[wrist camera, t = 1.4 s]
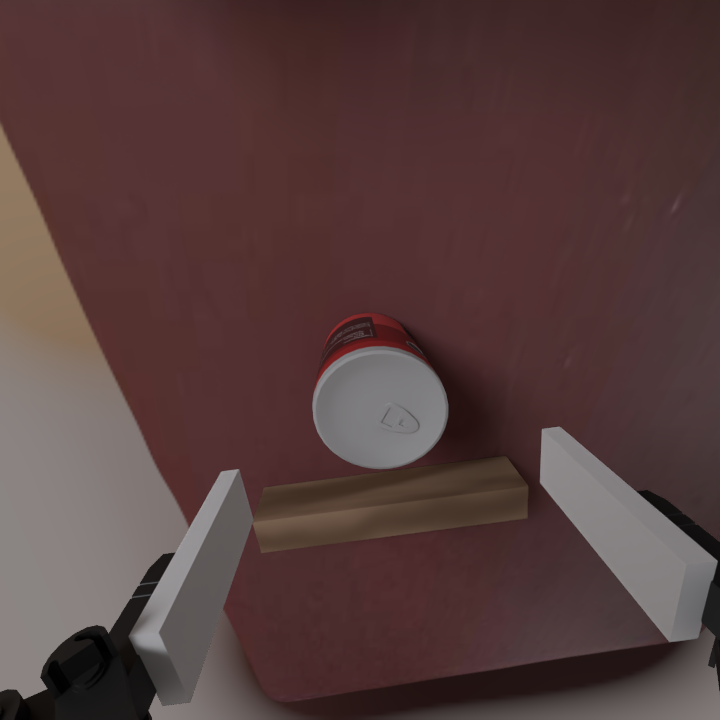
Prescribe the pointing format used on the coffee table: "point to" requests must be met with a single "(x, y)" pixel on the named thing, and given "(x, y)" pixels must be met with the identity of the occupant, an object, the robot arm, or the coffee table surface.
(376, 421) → the canned food
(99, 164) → the coffee table surface
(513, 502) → the board
